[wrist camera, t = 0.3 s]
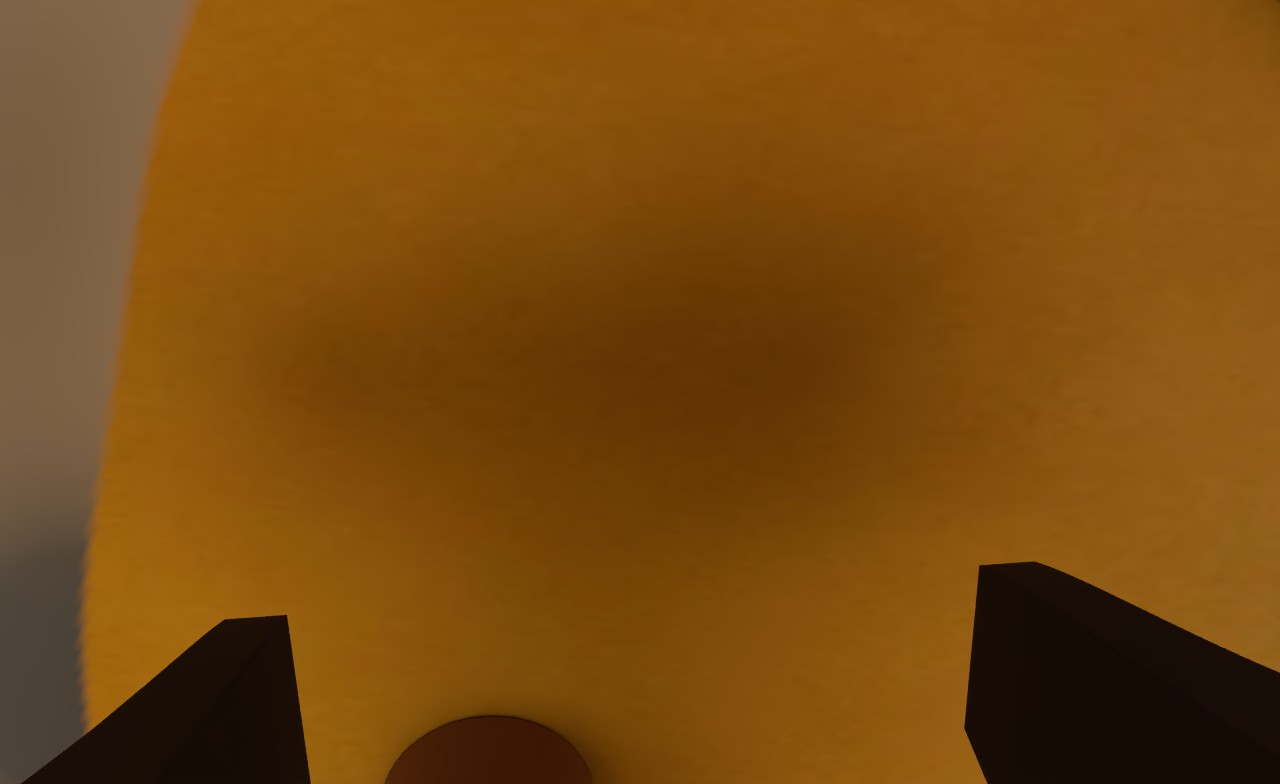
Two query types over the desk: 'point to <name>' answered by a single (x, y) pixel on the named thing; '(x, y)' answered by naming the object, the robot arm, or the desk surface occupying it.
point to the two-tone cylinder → (490, 756)
